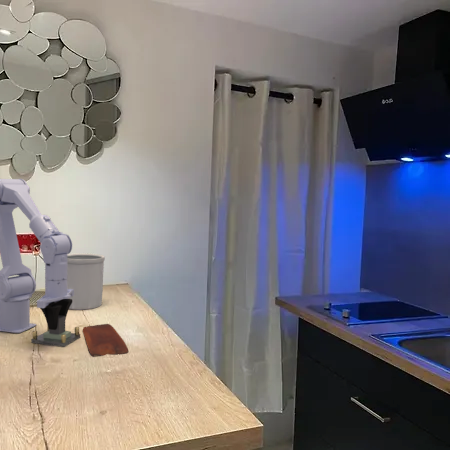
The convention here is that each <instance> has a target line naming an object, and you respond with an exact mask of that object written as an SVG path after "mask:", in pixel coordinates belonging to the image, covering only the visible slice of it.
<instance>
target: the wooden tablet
mask: <svg viewBox="0 0 450 450" xmlns="http://www.w3.org/2000/svg"><path fill="white" fill-rule="evenodd" d="M82 333H83V336H84V339H85V343H86V345H87V349H88V351H89V354H90V355H91V356H92V357H94V358H96V357H97V358H98V357H103V356H107V355H110V356H111V355H114V356H116V355H117V356H118V354H119V355H125V354H128V353H129V347H128V346H127V344H126V342H125V341H124V339H123V338H122V336H121V335H120V334H119V332H118V331H117V330H116V329H115V328H114V327H113V325H111V324H110V323H103V324H95V325H89V326H84V327H83V328H82Z"/></svg>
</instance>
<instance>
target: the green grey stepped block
mask: <svg viewBox="0 0 450 450" xmlns="http://www.w3.org/2000/svg"><path fill="white" fill-rule="evenodd" d="M71 333H72V331H69V330H66V320H65V316H61V315H59V316H58V325H57V329H56V330H51V329H49V331H47V330H46V331H45V332H42V334H43V338H49V339H57V340H61V335H62V334H66V338H68V337H70V336H71Z"/></svg>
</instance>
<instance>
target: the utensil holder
mask: <svg viewBox="0 0 450 450" xmlns="http://www.w3.org/2000/svg"><path fill="white" fill-rule="evenodd" d="M105 257H106V256H104V255H102V254H98V253H92V252H91V253H89V252H83V253H82V252H76V253H69V254H67V289H74V296H71V298H69V299H72V304H71V306H70V308H69V310H80V311H81V310H91V309H96V308H99V307H100V306H101V305H102V303H103V290H104V289H103V287H104V268H105V267H104V265H105V264H104V261H105Z"/></svg>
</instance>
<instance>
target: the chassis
mask: <svg viewBox="0 0 450 450" xmlns="http://www.w3.org/2000/svg"><path fill="white" fill-rule="evenodd" d="M46 325H47V324H46ZM46 327H47V328H46V332H47V331H49V328H48V325H47V326H46ZM80 338H81V333H80V326H75V327H74V332H71V336H70V337H68V338H66V334H62V335H61V340H57V339H49V338H43V333H40V334H39V335H38V330H33V331H32V338H31V339H30V340H31V342H30V343H32V344H36V345H37V344H39V345H46V346H52V347H54V346H55V347H61V348H66V347H67V346H68V345H70V344H71V343H74V342H75V341H77V340H79V339H80Z"/></svg>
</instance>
